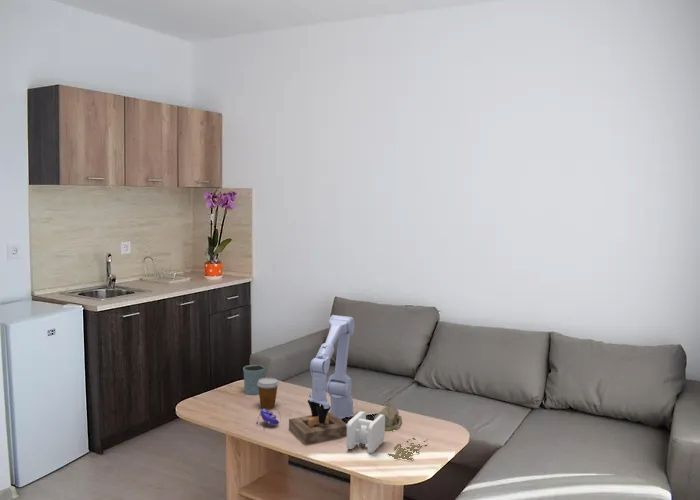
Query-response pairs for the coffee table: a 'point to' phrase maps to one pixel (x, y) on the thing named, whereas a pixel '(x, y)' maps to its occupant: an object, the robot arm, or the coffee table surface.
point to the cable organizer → (365, 431)
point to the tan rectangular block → (316, 421)
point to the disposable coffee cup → (267, 392)
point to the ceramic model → (391, 417)
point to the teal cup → (252, 378)
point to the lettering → (404, 452)
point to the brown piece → (317, 429)
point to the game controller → (268, 417)
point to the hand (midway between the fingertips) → (318, 420)
